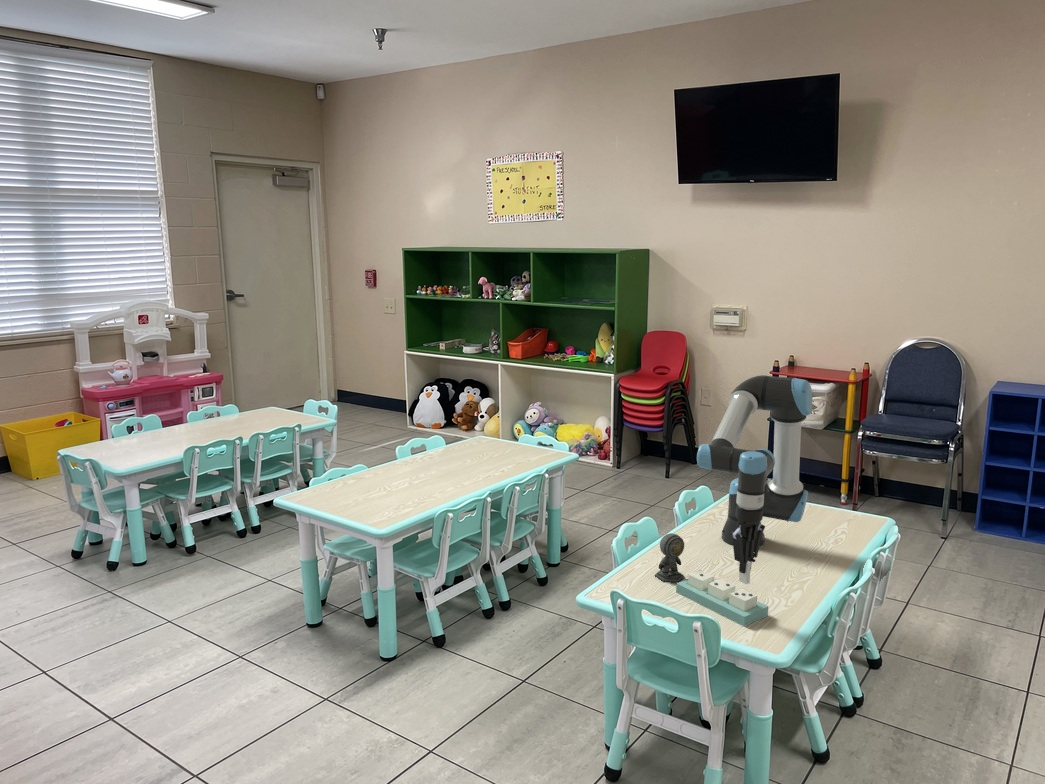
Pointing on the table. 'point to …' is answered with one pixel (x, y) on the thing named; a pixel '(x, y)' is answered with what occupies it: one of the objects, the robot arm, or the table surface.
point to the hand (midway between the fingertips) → (744, 581)
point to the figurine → (670, 558)
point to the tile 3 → (742, 600)
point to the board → (722, 605)
